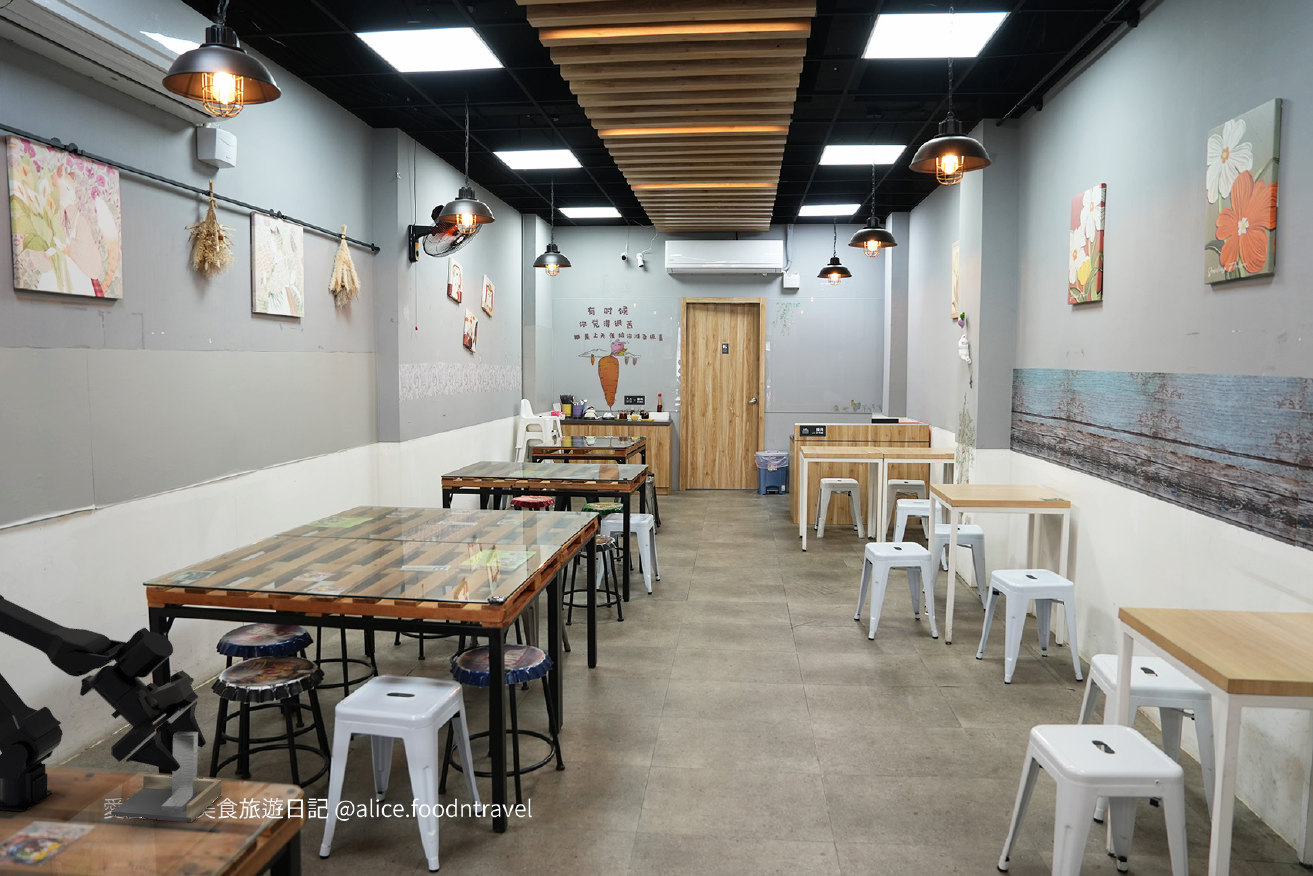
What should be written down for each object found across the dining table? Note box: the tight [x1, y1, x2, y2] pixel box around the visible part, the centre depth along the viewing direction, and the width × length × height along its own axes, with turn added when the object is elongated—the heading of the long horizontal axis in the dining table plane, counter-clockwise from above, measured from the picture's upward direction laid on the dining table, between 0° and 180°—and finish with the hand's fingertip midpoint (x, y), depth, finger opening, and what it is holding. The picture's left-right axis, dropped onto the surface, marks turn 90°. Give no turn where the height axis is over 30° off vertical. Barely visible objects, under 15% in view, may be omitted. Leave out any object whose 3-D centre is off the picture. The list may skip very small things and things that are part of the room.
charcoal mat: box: [110, 787, 220, 823], centre depth 145 cm, size 14×9×1 cm, turn 88°
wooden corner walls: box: [142, 773, 223, 823], centre depth 145 cm, size 14×9×3 cm, turn 88°
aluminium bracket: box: [161, 731, 199, 812], centre depth 143 cm, size 4×5×12 cm
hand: (191, 757), depth 145 cm, fingers open, 9 cm apart
